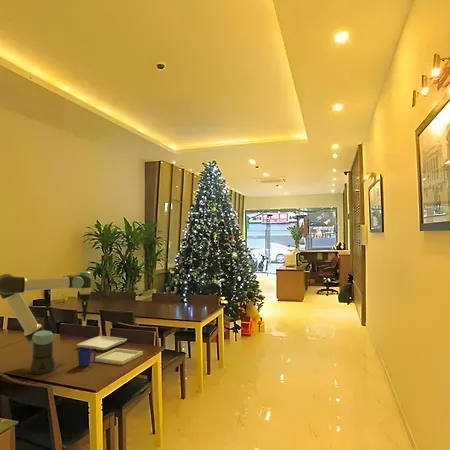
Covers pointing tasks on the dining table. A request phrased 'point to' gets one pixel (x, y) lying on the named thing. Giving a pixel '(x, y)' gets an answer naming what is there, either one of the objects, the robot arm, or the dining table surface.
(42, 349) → the robot arm
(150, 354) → the dining table surface
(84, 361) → the mug
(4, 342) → the dining table surface
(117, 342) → the square plate
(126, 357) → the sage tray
